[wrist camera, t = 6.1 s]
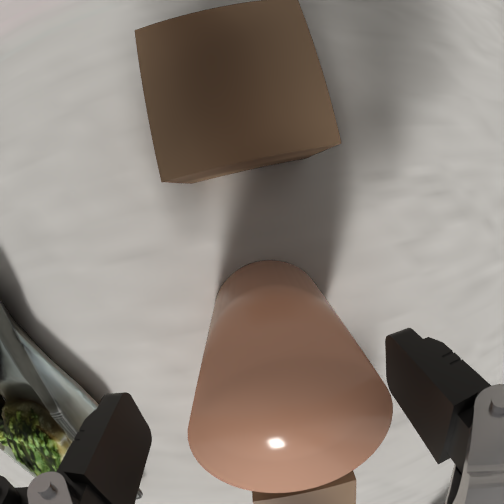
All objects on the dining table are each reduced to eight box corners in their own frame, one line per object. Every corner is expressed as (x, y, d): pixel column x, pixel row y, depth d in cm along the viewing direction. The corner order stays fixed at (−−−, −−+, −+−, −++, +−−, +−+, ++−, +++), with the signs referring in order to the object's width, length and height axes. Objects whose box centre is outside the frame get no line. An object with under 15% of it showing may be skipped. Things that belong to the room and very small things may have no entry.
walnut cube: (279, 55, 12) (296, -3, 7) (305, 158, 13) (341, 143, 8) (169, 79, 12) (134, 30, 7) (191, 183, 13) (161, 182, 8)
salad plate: (208, 440, 16) (201, 497, 12) (99, 506, 19) (87, 539, 14) (-24, 233, 13) (-75, 249, 9) (-52, 376, 16) (-78, 398, 11)
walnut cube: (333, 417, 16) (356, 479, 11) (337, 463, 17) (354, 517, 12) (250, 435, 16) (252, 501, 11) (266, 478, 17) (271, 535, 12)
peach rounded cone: (337, 277, 14) (427, 372, 6) (299, 367, 15) (337, 495, 7) (231, 245, 13) (216, 328, 6) (202, 344, 14) (173, 476, 6)
